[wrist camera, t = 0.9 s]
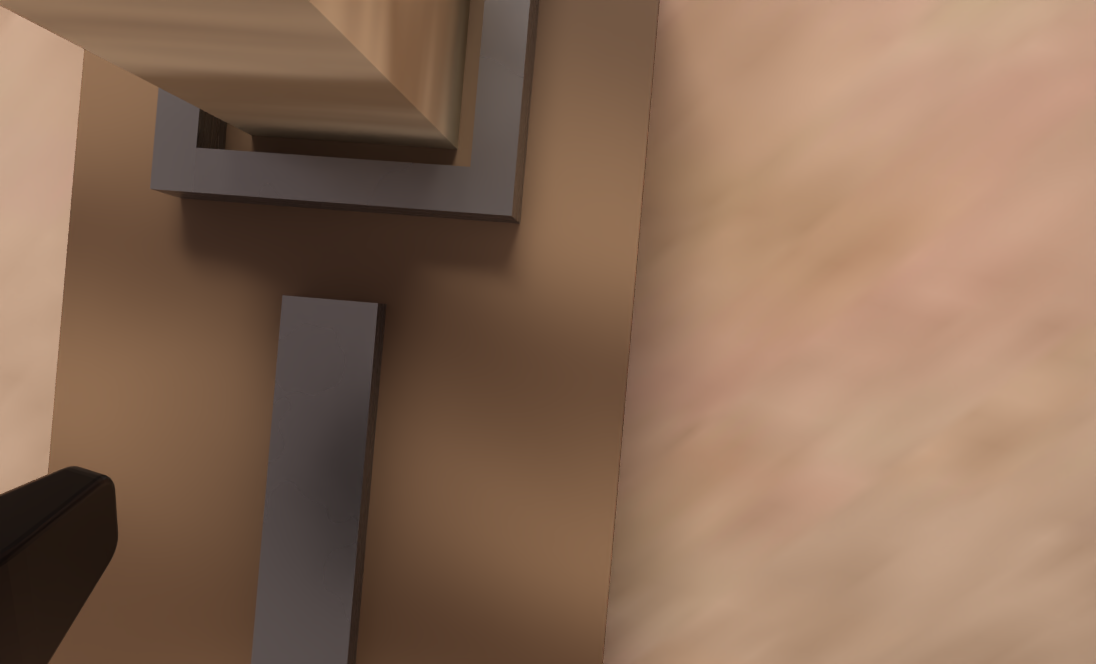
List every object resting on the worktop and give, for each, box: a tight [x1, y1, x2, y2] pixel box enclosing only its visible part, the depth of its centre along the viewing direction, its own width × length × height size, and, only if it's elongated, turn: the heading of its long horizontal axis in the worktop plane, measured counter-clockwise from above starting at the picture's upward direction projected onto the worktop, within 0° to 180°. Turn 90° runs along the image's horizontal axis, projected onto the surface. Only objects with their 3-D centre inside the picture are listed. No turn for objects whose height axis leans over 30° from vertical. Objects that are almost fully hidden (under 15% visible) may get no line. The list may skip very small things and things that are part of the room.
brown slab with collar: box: [48, 0, 659, 664], centre depth 21 cm, size 18×11×5 cm, turn 175°
